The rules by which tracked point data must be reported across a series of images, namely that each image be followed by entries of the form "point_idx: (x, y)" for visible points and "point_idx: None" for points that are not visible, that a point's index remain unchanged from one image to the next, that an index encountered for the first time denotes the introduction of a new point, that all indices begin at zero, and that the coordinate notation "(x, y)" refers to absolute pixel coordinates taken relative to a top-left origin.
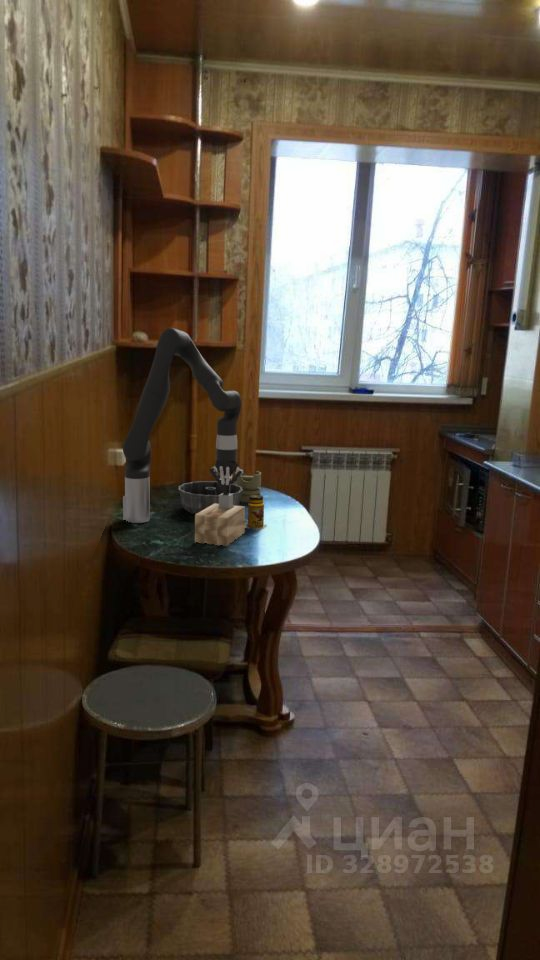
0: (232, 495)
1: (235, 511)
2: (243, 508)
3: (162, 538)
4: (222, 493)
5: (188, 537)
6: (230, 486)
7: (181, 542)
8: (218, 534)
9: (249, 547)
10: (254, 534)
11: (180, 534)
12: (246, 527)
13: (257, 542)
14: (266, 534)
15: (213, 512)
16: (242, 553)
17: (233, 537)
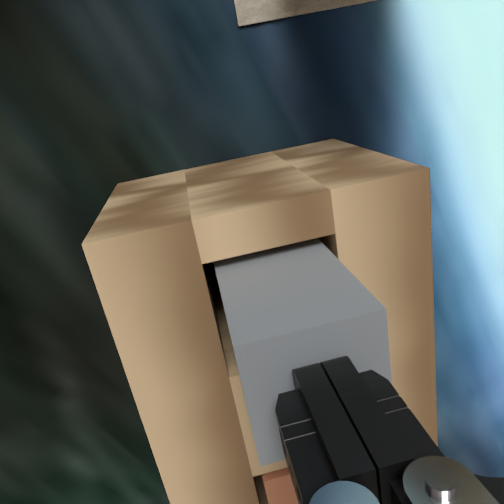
0: (381, 325)
1: (419, 366)
2: (426, 214)
3: (7, 490)
4: (248, 377)
5: (106, 402)
6: (431, 445)
7: (138, 476)
8: None
9: (460, 346)
10: (400, 129)
11: (25, 389)
12: (285, 4)
13: (469, 258)
14: (466, 83)
15: (283, 490)
16: (461, 425)
17: None
